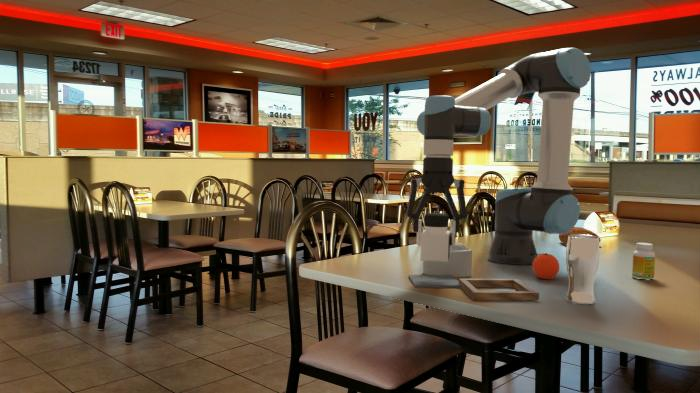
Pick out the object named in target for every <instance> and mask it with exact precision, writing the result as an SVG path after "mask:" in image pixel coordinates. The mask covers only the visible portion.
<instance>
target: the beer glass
mask: <svg viewBox="0 0 700 393" xmlns="http://www.w3.org/2000/svg"><path fill="white" fill-rule="evenodd" d="M599 238H600V236H599V237H597V236H591V235H568V241H567V245H566V250H565V262H566V271H567V277H568V279H567V280H568V287H567V288H568V289H567V294H566V298H565V301H567V302H568V301H569V303H570V302H572V303H571V304H574V303H579V304H578V305H580V304H591V303H594V304H595V303H596V299H595V298H596V297H595V293H594V288H595V287H594V286H595V281H596V276H597V272H598V268H599V262H600V242H599ZM591 305H592V304H591Z"/></svg>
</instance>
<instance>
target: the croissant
mask: <svg viewBox="0 0 700 393" xmlns="http://www.w3.org/2000/svg"><path fill="white" fill-rule="evenodd" d="M568 235H591V236H597V237H599V243H600V242H601V238H600V236H599V235H598V234H596V233H595V232H594V231H592V230H589V229H586V228H584V227H581V226H574V227H573V228H572V229H571V230H570V231H569V232H567V233H564V234H558V239H559V241H560V242H561V243H562V244H564V245H566V246H567V241H568Z"/></svg>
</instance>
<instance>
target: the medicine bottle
mask: <svg viewBox="0 0 700 393" xmlns="http://www.w3.org/2000/svg"><path fill="white" fill-rule="evenodd" d="M423 220H424V221H423V222H424V225H423V230H422V231H421V246H420V252H419V253H420V261H421V262H423V261H433V262H449V255H450V230H448V229H449V215H447V214H446V213H442V212H428V213H426V214H425V215H424V219H423Z"/></svg>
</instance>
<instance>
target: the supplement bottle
mask: <svg viewBox="0 0 700 393" xmlns="http://www.w3.org/2000/svg"><path fill="white" fill-rule="evenodd" d="M653 245H654V244H653V243H650V242H649V243H648V242H636V246H635V247H636V250H635V251H633V254H632V270H631V271H632V272H631V277H632V278H633V277H635V278H641V279H653V278H654V279H655V265H656V264H655V263H656V254H655V252H654V251H652V250H653V249H654V248H653V247H654V246H653ZM654 279H653V280H654Z"/></svg>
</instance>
